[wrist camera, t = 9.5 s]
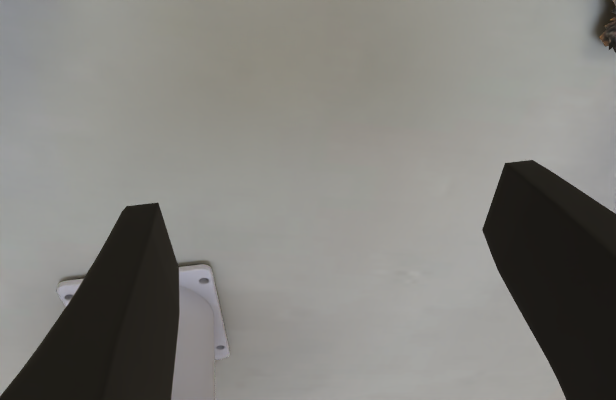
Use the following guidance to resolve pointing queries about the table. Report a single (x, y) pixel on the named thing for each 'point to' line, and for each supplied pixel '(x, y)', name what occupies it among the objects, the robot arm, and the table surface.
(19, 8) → the table surface
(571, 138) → the table surface
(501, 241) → the robot arm
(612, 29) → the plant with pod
